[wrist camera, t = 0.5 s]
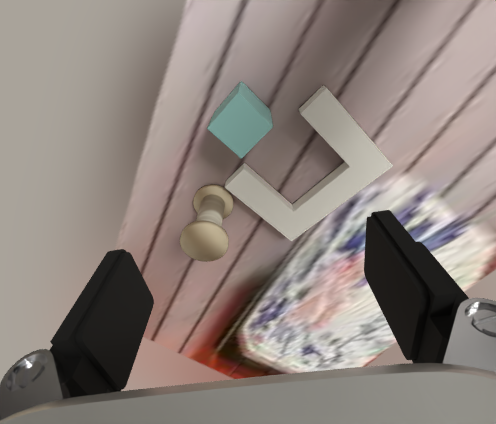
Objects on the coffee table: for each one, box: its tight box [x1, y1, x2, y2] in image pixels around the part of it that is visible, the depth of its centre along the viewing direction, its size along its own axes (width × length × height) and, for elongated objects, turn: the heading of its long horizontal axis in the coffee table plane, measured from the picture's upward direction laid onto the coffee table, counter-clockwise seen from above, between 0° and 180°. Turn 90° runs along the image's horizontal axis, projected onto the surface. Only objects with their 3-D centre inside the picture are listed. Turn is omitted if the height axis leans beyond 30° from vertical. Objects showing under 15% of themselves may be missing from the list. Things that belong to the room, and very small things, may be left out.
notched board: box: [225, 85, 393, 241], centre depth 40 cm, size 18×14×2 cm
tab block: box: [207, 81, 273, 159], centre depth 33 cm, size 5×5×7 cm
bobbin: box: [180, 184, 233, 262], centre depth 40 cm, size 6×6×10 cm
